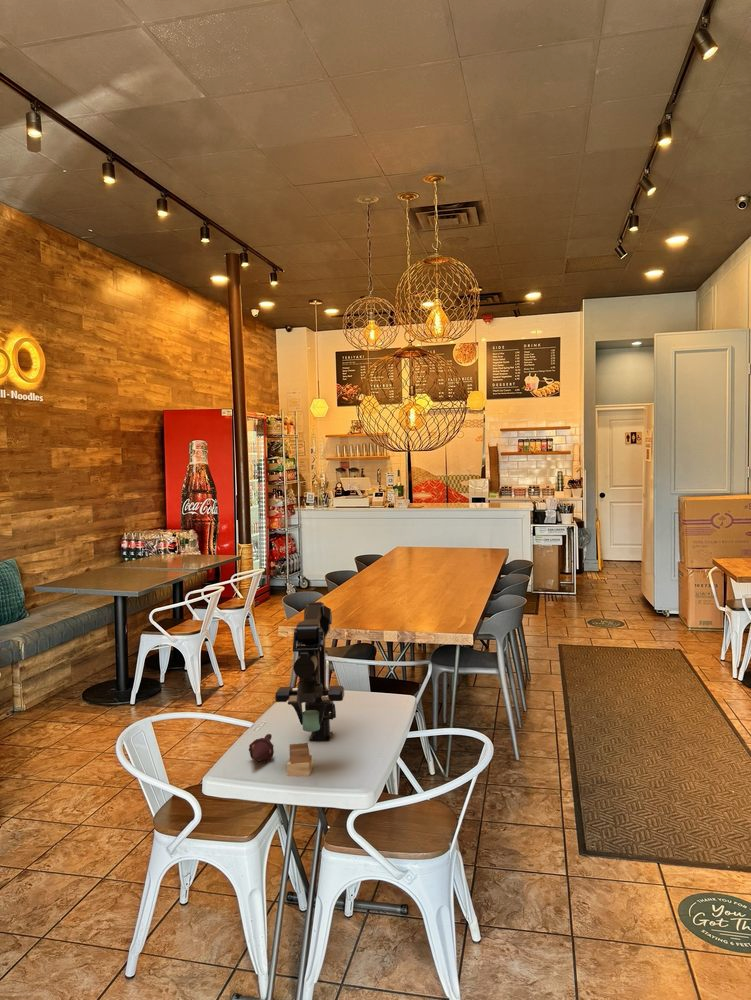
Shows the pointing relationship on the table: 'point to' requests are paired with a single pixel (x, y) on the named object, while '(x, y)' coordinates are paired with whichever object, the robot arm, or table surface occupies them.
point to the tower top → (299, 753)
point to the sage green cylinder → (310, 720)
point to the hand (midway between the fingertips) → (311, 724)
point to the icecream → (261, 749)
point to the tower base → (300, 768)
